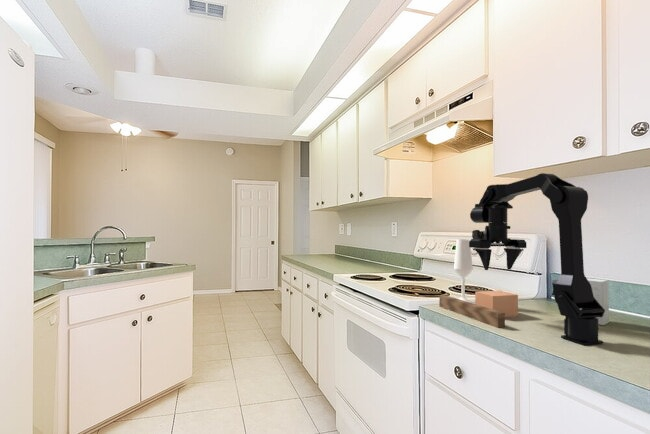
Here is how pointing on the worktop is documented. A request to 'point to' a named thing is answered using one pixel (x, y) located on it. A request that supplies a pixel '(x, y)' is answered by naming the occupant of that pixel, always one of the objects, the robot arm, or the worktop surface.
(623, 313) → the worktop surface
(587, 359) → the worktop surface
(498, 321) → the plank
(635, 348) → the worktop surface
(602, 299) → the small box
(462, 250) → the champagne flute
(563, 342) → the worktop surface
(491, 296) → the brick
